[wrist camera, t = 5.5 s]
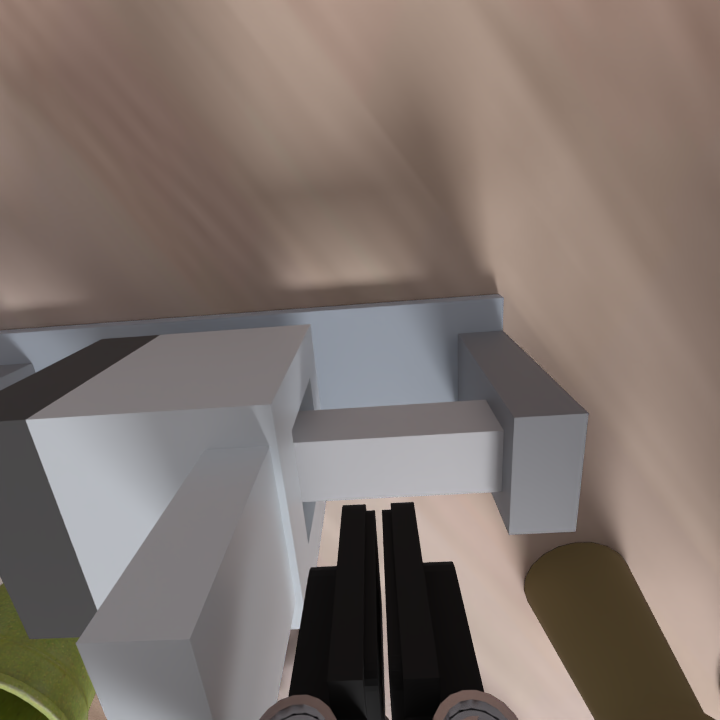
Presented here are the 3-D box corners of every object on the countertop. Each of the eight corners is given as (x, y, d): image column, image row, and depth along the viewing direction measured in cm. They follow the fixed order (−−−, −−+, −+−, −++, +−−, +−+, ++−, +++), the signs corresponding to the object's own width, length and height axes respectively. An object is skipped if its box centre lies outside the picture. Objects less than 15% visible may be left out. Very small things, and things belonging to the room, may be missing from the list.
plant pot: (53, 485, 24) (-110, 630, 16) (196, 574, 26) (116, 745, 18) (-19, 581, 27) (-192, 750, 18) (116, 656, 28) (14, 839, 20)
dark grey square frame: (160, 335, 17) (25, 420, 11) (197, 487, 20) (107, 636, 13) (101, 338, 17) (-70, 426, 11) (145, 490, 20) (29, 639, 13)
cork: (520, 550, 25) (628, 798, 14) (630, 535, 24) (823, 781, 14) (527, 627, 27) (626, 894, 16) (629, 614, 26) (798, 882, 16)
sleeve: (310, 324, 17) (187, 576, 6) (329, 480, 19) (270, 880, 8) (160, 335, 17) (-253, 595, 6) (197, 487, 20) (-44, 884, 8)
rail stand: (498, 294, 20) (594, 361, 11) (494, 429, 22) (571, 569, 14) (-6, 330, 21) (-261, 417, 13) (41, 456, 23) (-146, 601, 15)
